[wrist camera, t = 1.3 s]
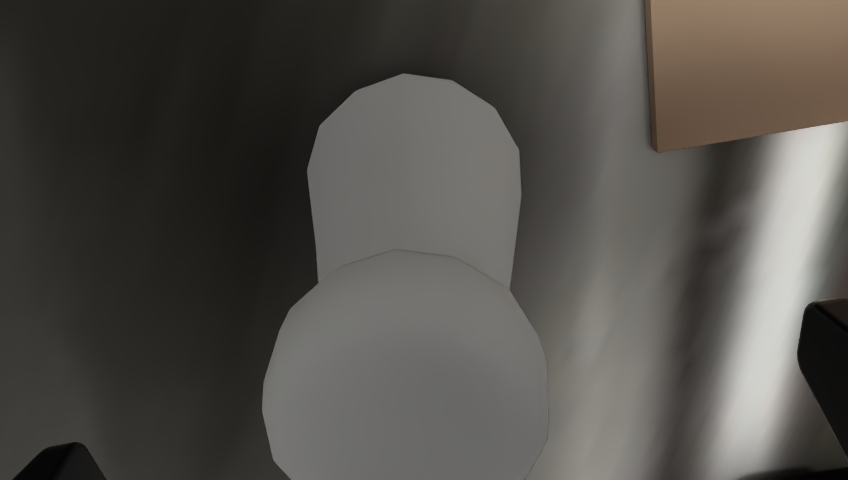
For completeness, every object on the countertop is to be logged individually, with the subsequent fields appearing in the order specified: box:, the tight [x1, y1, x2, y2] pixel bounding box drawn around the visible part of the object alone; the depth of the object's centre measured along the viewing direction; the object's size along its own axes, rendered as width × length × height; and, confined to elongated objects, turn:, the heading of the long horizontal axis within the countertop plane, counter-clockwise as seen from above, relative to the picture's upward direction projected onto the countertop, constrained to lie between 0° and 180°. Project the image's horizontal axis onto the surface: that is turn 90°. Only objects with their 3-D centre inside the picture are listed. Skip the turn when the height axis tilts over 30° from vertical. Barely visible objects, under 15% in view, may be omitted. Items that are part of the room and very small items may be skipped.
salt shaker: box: [262, 73, 549, 480], centre depth 16 cm, size 6×6×13 cm
